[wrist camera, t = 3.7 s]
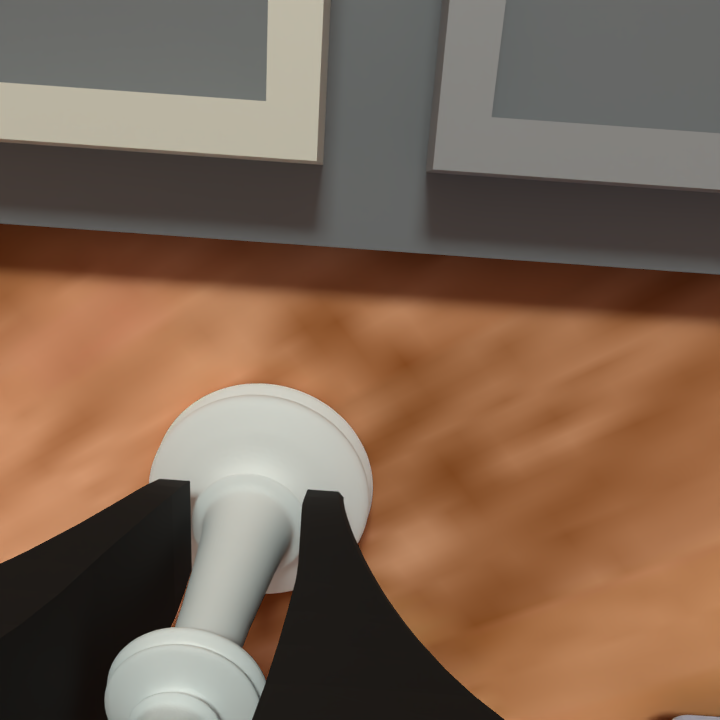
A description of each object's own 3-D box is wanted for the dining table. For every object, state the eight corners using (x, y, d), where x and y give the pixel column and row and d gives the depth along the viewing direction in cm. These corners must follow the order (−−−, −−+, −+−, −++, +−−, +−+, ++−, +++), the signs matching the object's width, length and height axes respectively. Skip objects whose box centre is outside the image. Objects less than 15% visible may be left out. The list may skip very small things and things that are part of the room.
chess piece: (410, 524, 13) (523, 1464, 3) (230, 607, 14) (-96, 1568, 4) (303, 343, 12) (7, 997, 2) (113, 444, 13) (-731, 1261, 3)
